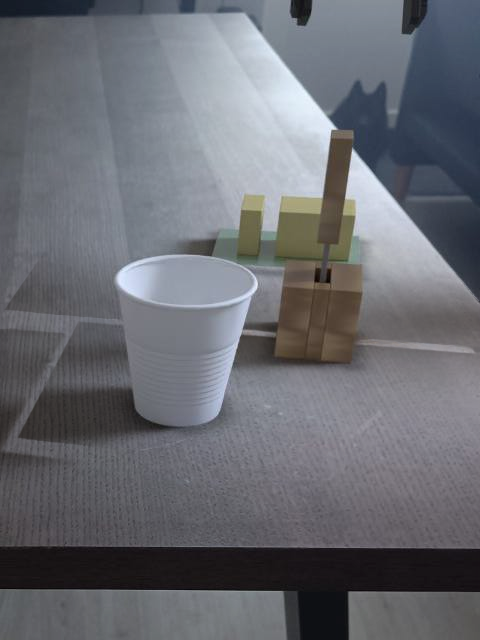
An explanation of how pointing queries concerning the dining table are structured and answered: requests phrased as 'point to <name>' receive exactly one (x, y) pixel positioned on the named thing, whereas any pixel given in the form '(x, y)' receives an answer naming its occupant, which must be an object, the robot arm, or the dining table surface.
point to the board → (266, 250)
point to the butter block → (310, 229)
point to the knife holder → (319, 311)
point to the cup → (182, 333)
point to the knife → (334, 192)
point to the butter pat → (251, 224)
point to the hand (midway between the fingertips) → (357, 25)
